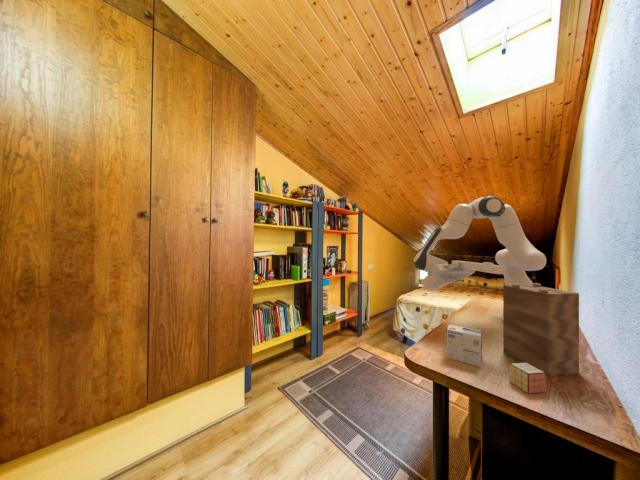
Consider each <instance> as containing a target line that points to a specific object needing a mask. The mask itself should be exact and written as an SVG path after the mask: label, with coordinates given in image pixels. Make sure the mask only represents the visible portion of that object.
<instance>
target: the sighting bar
mask: <svg viewBox="0 0 640 480" xmlns="http://www.w3.org/2000/svg"><path fill="white" fill-rule="evenodd" d="M456 262H459V263H460V266H459V267H457V268H463V269H469V270H475V272H477V271H478V272H482V273H487V274H488V273H489V274H494V275H495V274H496V275H503V274H505V266H500V265H499V264H494V262H489V261H483V262H482V263H481V262H476V261H475V262H474V261H473V262H472V261H465V260H464V261H463V260H454V259H453V260H451V264H454V263H456Z"/></svg>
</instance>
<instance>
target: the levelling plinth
mask: <svg viewBox="0 0 640 480" xmlns="http://www.w3.org/2000/svg"><path fill="white" fill-rule="evenodd" d="M532 283H533V285H520V284H512V285H505V284H504V285H502V286H503V297H502V298H503V299H502V300H503V305H502V306H503V307H502V314H503V320H502V322H503V325H502V327H503V331H502V332H503V333H502V335H503V338H502V339H503V342H502V343H503V345H502V346H503V347H502V348H503V349H502V351H503V352H502V353H503V354H504V355H505V356H508V357H509V358H511V359H513V360H515V361H517V362H518V363H528V364H530V365H531V366H533V367H535V368H537V369H539V370H541V371H543V372H544V373H545V377H557V376H566V375H576V374H577V375H578V374H580V293H579V292H574V291H570V290H568V291H567V290H563V289H558V288H557V289H556V288H553V287H547V286H542V284H541V283H538V282H535V283H534V282H532Z"/></svg>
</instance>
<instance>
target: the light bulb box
mask: <svg viewBox="0 0 640 480" xmlns="http://www.w3.org/2000/svg"><path fill="white" fill-rule="evenodd" d="M482 332H483V331H482V330H481V329H475V328H471V327H470V328H469V327H465V326H460V325H455V324H448V326H447V328H446V358H447V359H450V360H454V361H458V362H461V363H465V364H469V365H472V366H476V367H480V368H481V367H482V364H483V334H482Z"/></svg>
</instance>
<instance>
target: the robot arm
mask: <svg viewBox="0 0 640 480" xmlns="http://www.w3.org/2000/svg"><path fill="white" fill-rule="evenodd" d="M486 218H488V220H489V221H490V222H491V224H492V227H493V229H494V230H493V231H494V233H495V235H496V238H497V240H498V242H499V243H500V244H501V245H503V247H505V248H504V249H501V250H498V251H497V252H496V254H495V257H494V258H495V262H496V263H497V265H499V266H505V274H502V275H503V277H504V278H503V279H504V285H512V284H520V285H533V283H534V282H533V281H532V280H531V278H530V277H529V276H528V275H527V272H533V271H540V270H543V269H544V268H545V267H546V264H547V257H546V255H545V254H544V253H543V252H542V251H540V250H538V249H537V248H536V247H535V246H534V245H533V244H532V243H531V242H530V241H529V239H528V238H527V237H526V234H525V232H524V230H523V227H522V225H521V223H520V220H519V216H517V213H516V211H515V209H514V208H513V207H512V205H511V204H507V203H504V202H503V201H502V199H501V198H499V197H498V196H495V195H488V196H487V195H486V196H482V197H480V198H477V199H475V200H472V201H469V202H468V203H458V204H457V205H455V206H454V207H453V209H452V210H451V212H450V214H449V216H448V218H447V219H446V221H445V223H444V224H443V225H442V226H438V227H436V228H435V229H434V230H433V231H432V233H431V234H430V236H429V237H428V239H427V240H426V241H425V242H424V244H423V246H422V247H421V249H420V250H419V251H418V252H417V254H416V255H415V256H414V258H413V260H412V263H413V266H414V267H415V268H416V269H417V270H420V271H424V272H425V273H427V275H426V276H425V277H424V278H423V279H422V281H421V285H422V287H423V288H424V289H425V290H428V291H430V292H434V291H437V290H440V289H441V288H443V287H444V286H447V285H449V284H453V283H457V282H462V281H464V279H466V278H468V277H470V276H471V275H473V274H475V272H476V271H475V270H469V269H463V268H457V267H459V266H460V263H459V262H456V263H454V264H452V263H451V264H449V262H448V261H446V260H444V259H442V258H440V257H436V255H435V256H434V255H432V254H430V252H431V251H432V250H433V248H434V247H435V246H436V244H437V243H438V242H439V241H440V240H457V239H460V238H463V237H464V236H465V235H466V233H467V231H468V230H469V227H470V225H471V223H472V221H473V220H477V219H478V220H479V219H481V220H482V219H486ZM526 271H527V272H526ZM500 316H501V317H500V319H501V321H503V313H502V314H501V315H500Z"/></svg>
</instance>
